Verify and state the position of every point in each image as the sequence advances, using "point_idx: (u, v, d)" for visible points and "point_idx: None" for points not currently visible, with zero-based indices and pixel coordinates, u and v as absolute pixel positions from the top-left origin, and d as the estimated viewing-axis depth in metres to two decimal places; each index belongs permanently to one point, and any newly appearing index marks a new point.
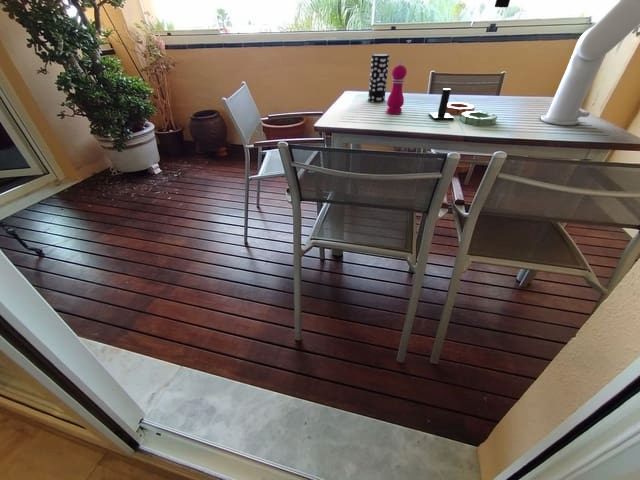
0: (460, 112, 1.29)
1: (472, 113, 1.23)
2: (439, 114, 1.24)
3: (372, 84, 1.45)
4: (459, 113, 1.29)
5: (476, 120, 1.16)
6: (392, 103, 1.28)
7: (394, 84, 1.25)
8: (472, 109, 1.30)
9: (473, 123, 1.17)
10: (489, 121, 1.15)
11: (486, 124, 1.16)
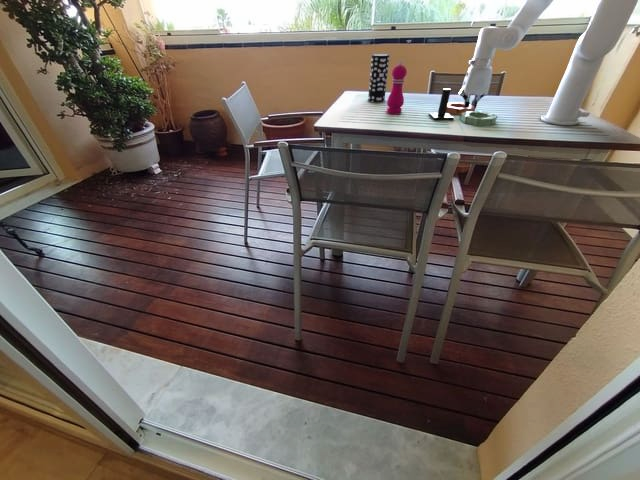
0: (460, 112, 1.29)
1: (472, 113, 1.23)
2: (439, 114, 1.24)
3: (372, 84, 1.45)
4: (459, 113, 1.29)
5: (476, 120, 1.16)
6: (392, 103, 1.28)
7: (394, 84, 1.25)
8: (472, 109, 1.30)
9: (473, 123, 1.17)
10: (489, 121, 1.15)
11: (486, 124, 1.16)
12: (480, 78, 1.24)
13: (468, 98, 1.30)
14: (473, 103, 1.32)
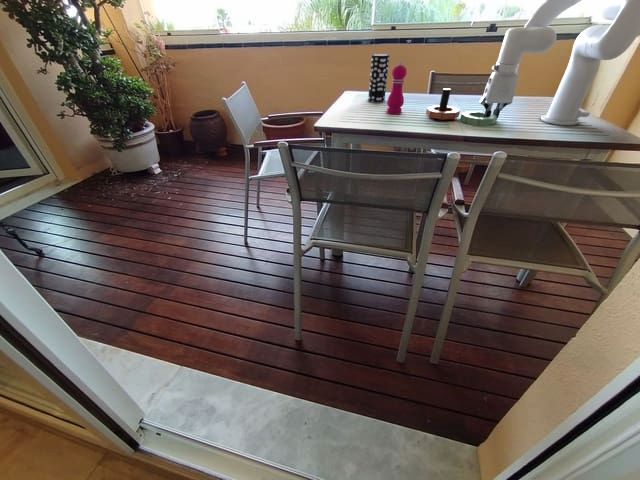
0: (444, 116, 1.20)
1: (472, 113, 1.23)
2: None
3: (372, 84, 1.45)
4: (443, 117, 1.20)
5: (476, 120, 1.16)
6: (392, 103, 1.28)
7: (394, 84, 1.25)
8: (457, 113, 1.21)
9: (473, 123, 1.17)
10: (489, 121, 1.15)
11: (486, 124, 1.16)
12: (504, 85, 1.11)
13: (490, 107, 1.17)
14: (495, 112, 1.19)
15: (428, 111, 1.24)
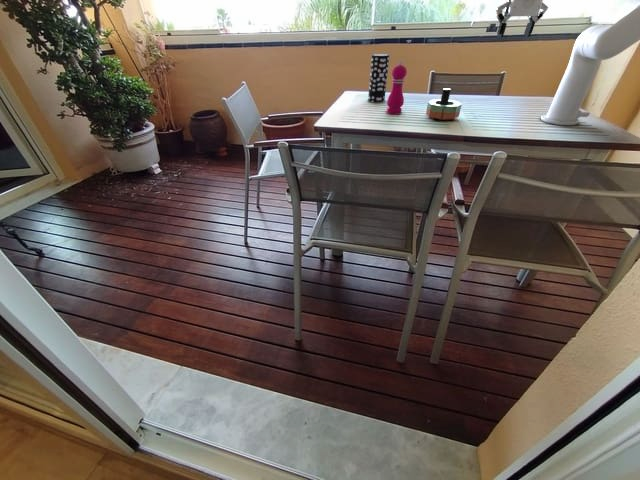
0: (444, 116, 1.20)
1: (439, 101, 1.26)
2: None
3: (372, 84, 1.45)
4: (443, 117, 1.20)
5: (441, 108, 1.19)
6: (392, 103, 1.28)
7: (394, 84, 1.25)
8: (457, 113, 1.21)
9: (438, 110, 1.20)
10: (453, 108, 1.18)
11: (450, 111, 1.19)
12: None
13: (506, 19, 1.03)
14: (529, 26, 1.05)
15: (428, 111, 1.24)
